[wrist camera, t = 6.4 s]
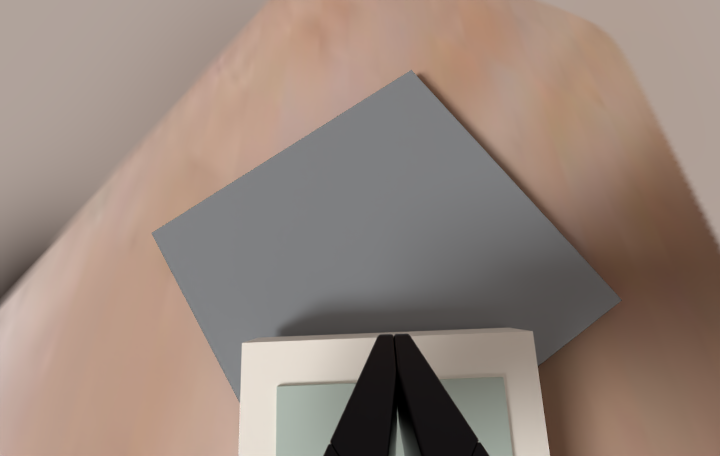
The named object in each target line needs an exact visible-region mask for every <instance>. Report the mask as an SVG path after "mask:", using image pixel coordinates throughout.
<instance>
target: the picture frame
mask: <svg viewBox="0 0 720 456" xmlns="http://www.w3.org/2000/svg"><path fill="white" fill-rule="evenodd" d="M380 334H392V335H393V336H394V335H395V334H409V335H410V336H411V337H412V339H413V341H414V342H415V344H416V345H417V347H418V348H419V350H420V351H421V353H422V354H423V356H424V357H425V359H426V360H427V362H428V363H429V365H430V366H431V368H432V369H433V371H434V372H435V374H436V375H437V377H438V379H439V380H440V382H441V383H442V385H443V386H444V388H445V389H446V391H447V392H448V394H449V395H450V397H451V398H452V400H453V401H454V403H455V404H456V406H457V407H458V409H459V410H460V412H461V413H462V415H463V417H464V418H465V420H466V421H467V423H468V424H469V426H470V427H471V429H472V430H473V432H474V433H475V435H476V436H477V438H478V440H479V441H478V442H480V443H481V444H482V445H483V447H484V448H485V450H486V451H487V453H488V454H489V456H550V452H549V445H548V438H547V431H546V423H545V416H544V409H543V402H542V394H541V387H540V380H539V373H538V365H537V358H536V351H535V344H534V336H533V331H528V330H521V329H515V328H484V329H459V330H434V331H409V332H384V333H359V334H334V335H309V336H285V337H260V338H256V339H253V340H250V341H246V342H243V343H242V356H241V389H240V421H239V454H238V456H323V455H324V453H325V450H326V448H327V446H328V444H330V440H331V438H332V435H333V433H334V431H335V429H336V427H337V424H338V422H339V420H340V418H341V416H342V413H343V411H344V409H345V407H346V405H347V402H348V400H349V398H350V396H351V394H352V391H353V389H354V387H355V385H356V383H357V380H358V378H359V376H360V374H361V372H362V369H363V367H364V365H365V363H366V361H367V358H368V356H369V354H370V352H371V350H372V347H373V345H374V343H375V341H376V339H377V337H378V335H380ZM396 456H404V450H403V444H402V439H401V433H400V427H399V421H398V411H397V442H396Z"/></svg>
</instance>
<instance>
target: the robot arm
mask: <svg viewBox="0 0 720 456" xmlns="http://www.w3.org/2000/svg"><path fill="white" fill-rule="evenodd" d="M397 411H398V421H399V427H400V433H401V439H402V444H403V450H404V456H489V454H488V453H487V451H486V450H485V448H484V447H483V445H482V444H481V443H480V442H478V441H479V440H478V438H477V436H476V435H475V433H474V432H473V430H472V429H471V427H470V426H469V424H468V423H467V421H466V420H465V418H464V417H463V415H462V413H461V412H460V410H459V409H458V407H457V406H456V404H455V403H454V401H453V400H452V398H451V397H450V395H449V394H448V392H447V391H446V389H445V388H444V386H443V385H442V383H441V382H440V380H439V379H438V377H437V375H436V374H435V372H434V371H433V369H432V368H431V366H430V365H429V363H428V362H427V360H426V359H425V357H424V356H423V354H422V353H421V351H420V350H419V348H418V347H417V345H416V344H415V342H414V341H413V339H412V337H411V336H410V335H409V334H395V335H394V336H393V335H392V334H380V335H378V337H377V339H376V341H375V343H374V345H373V347H372V350H371V352H370V354H369V356H368V358H367V361H366V363H365V365H364V367H363V369H362V372H361V374H360V376H359V378H358V380H357V383H356V385H355V387H354V389H353V391H352V394H351V396H350V398H349V400H348V402H347V405H346V407H345V409H344V411H343V413H342V416H341V418H340V420H339V422H338V424H337V427H336V429H335V431H334V433H333V435H332V438H331V440H330V444H328V446H327V448H326V450H325V453H324V455H323V456H396V442H397Z"/></svg>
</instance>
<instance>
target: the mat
mask: <svg viewBox="0 0 720 456" xmlns="http://www.w3.org/2000/svg"><path fill="white" fill-rule="evenodd" d="M152 235H153V237H154V239H155V241H156V243H157V245H158V247H159V249H160V250H161V252H162V254H163V256H164V258H165V260H166V262H167V264H168V266H169V268H170V270H171V272H172V274H173V275H174V277H175V279H176V281H177V283H178V285H179V287H180V289H181V291H182V293H183V295H184V297H185V299H186V300H187V302H188V304H189V306H190V308H191V310H192V312H193V314H194V316H195V318H196V320H197V322H198V324H199V325H200V327H201V329H202V331H203V333H204V335H205V337H206V339H207V341H208V343H209V345H210V347H211V349H212V351H213V352H214V354H215V356H216V358H217V360H218V362H219V364H220V366H221V368H222V370H223V372H224V374H225V376H226V377H227V379H228V381H229V383H230V385H231V387H232V389H233V391H234V393H235V395H236V397H237V399H238V401H239V402H240V389H241V356H242V343H243V342H246V341H250V340H253V339H256V338H260V337H285V336H309V335H334V334H359V333H384V332H409V331H434V330H459V329H484V328H515V329H521V330H528V331H533V336H534V344H535V351H536V358H537V365H538V366H539V365H540V364H542V363H543V362H544V361H545V360H547V359H548V358H549V357H550V356H552V355H553V354H554V353H555V352H557V351H558V350H559V349H561V348H562V347H563V346H564V345H566V344H567V343H568V342H569V341H571V340H572V339H573V338H575V337H576V336H577V335H578V334H580V333H581V332H582V331H583V330H585V329H586V328H587V327H589V326H590V325H591V324H592V323H594V322H595V321H596V320H597V319H599V318H600V317H601V316H603V315H604V314H605V313H606V312H608V311H609V310H610V309H611V308H613V307H614V306H615V305H617V304H618V303H619V302H620V301H622V300H621V299H620V297H619V296H618V295H617V294H616V293H615V292H614V291H613V290H612V289H611V288H610V287H609V285H608V284H607V283H606V282H605V281H604V280H603V279H602V278H601V277H600V276H599V274H598V273H597V272H596V271H595V270H594V269H593V268H592V267H591V266H590V265H589V264H588V262H587V261H586V260H585V259H584V258H583V257H582V256H581V255H580V254H579V253H578V252H577V250H576V249H575V248H574V247H573V246H572V245H571V244H570V243H569V242H568V241H567V240H566V238H565V237H564V236H563V235H562V234H561V233H560V232H559V231H558V230H557V229H556V228H555V226H554V225H553V224H552V223H551V222H550V221H549V220H548V219H547V218H546V217H545V215H544V214H543V213H542V212H541V211H540V210H539V209H538V208H537V207H536V206H535V205H534V203H533V202H532V201H531V200H530V199H529V198H528V197H527V196H526V195H525V194H524V193H523V191H522V190H521V189H520V188H519V187H518V186H517V185H516V184H515V183H514V182H513V181H512V179H511V178H510V177H509V176H508V175H507V174H506V173H505V172H504V171H503V170H502V169H501V167H500V166H499V165H498V164H497V163H496V162H495V161H494V160H493V159H492V158H491V156H490V155H489V154H488V153H487V152H486V151H485V150H484V149H483V148H482V147H481V146H480V144H479V143H478V142H477V141H476V140H475V139H474V138H473V137H472V136H471V135H470V134H469V132H468V131H467V130H466V129H465V128H464V127H463V126H462V125H461V124H460V123H459V122H458V120H457V119H456V118H455V117H454V116H453V115H452V114H451V113H450V112H449V111H448V110H447V108H446V107H445V106H444V105H443V104H442V103H441V102H440V101H439V100H438V99H437V97H436V96H435V95H434V94H433V93H432V92H431V91H430V90H429V89H428V88H427V87H426V85H425V84H424V83H423V82H422V81H421V80H420V79H419V78H418V77H417V76H416V75H415V73H414V72H413V71H412V70H411V71H409V72H407V73H406V74H404V75H403V76H401V77H399V78H398V79H396V80H395V81H393V82H391V83H390V84H388V85H387V86H385V87H383V88H382V89H380V90H379V91H377V92H375V93H374V94H372V95H371V96H369V97H368V98H366V99H364V100H363V101H361V102H360V103H358V104H356V105H355V106H353V107H352V108H350V109H348V110H347V111H345V112H344V113H342V114H340V115H339V116H337V117H336V118H334V119H332V120H331V121H329V122H328V123H326V124H325V125H323V126H321V127H320V128H318V129H317V130H315V131H313V132H312V133H310V134H309V135H307V136H305V137H304V138H302V139H301V140H299V141H297V142H296V143H294V144H293V145H291V146H289V147H288V148H286V149H285V150H283V151H282V152H280V153H278V154H277V155H275V156H274V157H272V158H270V159H269V160H267V161H266V162H264V163H262V164H261V165H259V166H258V167H256V168H254V169H253V170H251V171H250V172H248V173H246V174H245V175H243V176H242V177H240V178H238V179H237V180H235V181H234V182H232V183H231V184H229V185H227V186H226V187H224V188H223V189H221V190H219V191H218V192H216V193H215V194H213V195H211V196H210V197H208V198H207V199H205V200H203V201H202V202H200V203H199V204H197V205H195V206H194V207H192V208H191V209H189V210H188V211H186V212H184V213H183V214H181V215H180V216H178V217H176V218H175V219H173V220H172V221H170V222H168V223H167V224H165V225H164V226H162V227H160V228H159V229H157V230H156V231H154V232H152Z"/></svg>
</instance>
